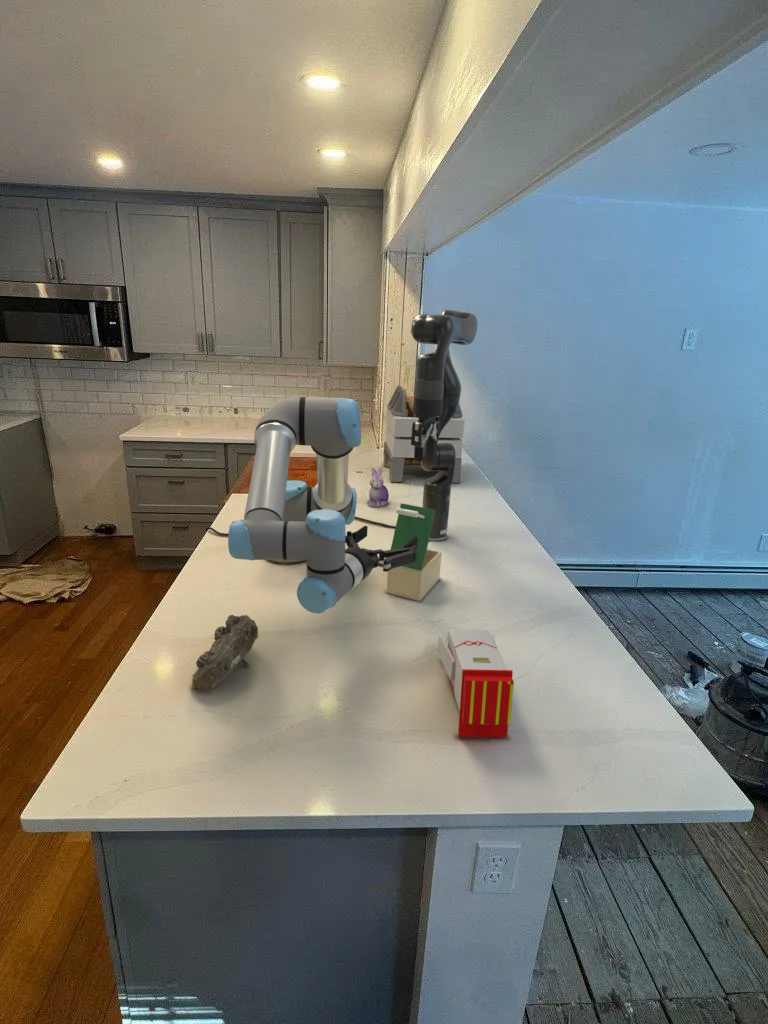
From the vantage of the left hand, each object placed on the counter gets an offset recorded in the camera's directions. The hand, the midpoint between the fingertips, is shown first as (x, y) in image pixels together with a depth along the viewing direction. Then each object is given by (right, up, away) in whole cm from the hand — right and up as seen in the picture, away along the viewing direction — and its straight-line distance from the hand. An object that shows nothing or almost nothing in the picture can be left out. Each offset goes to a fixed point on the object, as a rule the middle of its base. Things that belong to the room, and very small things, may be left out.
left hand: (390, 536), depth 140 cm
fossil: (-35, -27, -16) cm, 47 cm away
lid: (+6, -1, +14) cm, 15 cm away
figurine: (-4, +9, +89) cm, 90 cm away
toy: (+16, -32, -21) cm, 42 cm away
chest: (+7, -15, +23) cm, 28 cm away
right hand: (+9, +21, +12) cm, 25 cm away
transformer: (+16, +25, +135) cm, 138 cm away
